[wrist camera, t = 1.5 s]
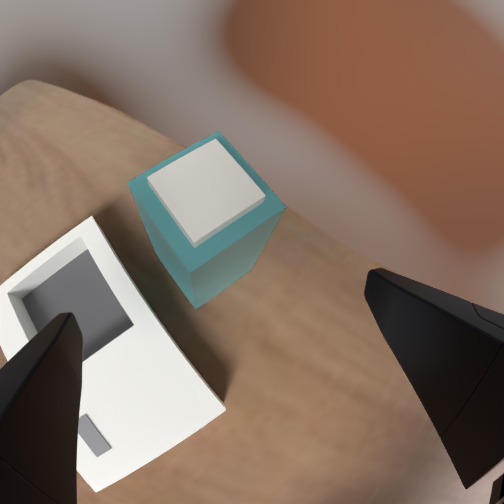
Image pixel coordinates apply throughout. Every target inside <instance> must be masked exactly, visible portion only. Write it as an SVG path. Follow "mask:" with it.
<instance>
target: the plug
mask: <svg viewBox="0 0 504 504" xmlns="http://www.w3.org/2000/svg"><path fill="white" fill-rule="evenodd" d="M127 183H128V186H129V188H130V191H131V194H132V196H133V199H134V201H135V204H136V206H137V209H138V212H139V214H140V217H141V219H142V222H143V224H144V227H145V229H146V231H147V234H148V236H149V239H150V241H151V243H152V246H153V248H154V251H155V253H156V255H157V257H158V258H159V259H160V261H161V262H162V264H163V265H164V267H165V268H166V270H167V271H168V272H169V274H170V275H171V277H172V278H173V279H174V281H175V282H176V284H177V285H178V287H179V288H180V289H181V291H182V292H183V293H184V295H185V296H186V298H187V299H188V300H189V302H190V303H191V304H192V306H193V307H194V308H195V310H197V309H198V308H199V307H201V306H202V305H204V304H205V303H206V302H208V301H209V300H211V299H212V298H213V297H215V296H216V295H217V294H219V293H220V292H222V291H223V290H224V289H226V288H227V287H228V286H230V285H231V284H233V283H234V282H235V281H237V280H238V279H239V278H241V277H242V276H244V275H245V274H246V273H248V272H249V271H250V270H251V269H252V268H253V266H254V264H255V262H256V260H257V259H258V257H259V255H260V253H261V251H262V250H263V248H264V246H265V244H266V242H267V241H268V239H269V237H270V235H271V233H272V231H273V230H274V228H275V226H276V224H277V222H278V221H279V219H280V217H281V215H282V213H283V212H284V210H285V208H286V206H285V205H284V204H283V203H282V202H281V201H280V199H279V198H278V197H277V196H276V195H275V194H274V193H273V191H272V190H271V189H270V188H269V187H268V185H267V184H266V183H265V182H264V181H263V180H262V179H261V177H260V176H259V175H258V174H257V173H256V172H255V171H254V170H253V168H252V167H251V166H250V165H249V164H248V163H247V162H246V161H245V159H243V157H242V156H241V155H240V154H239V153H238V152H237V150H236V149H235V148H234V147H233V146H232V145H231V144H230V143H229V142H228V140H227V139H226V138H225V137H224V136H223V135H222V134H221V133H220V132H219V131H218V132H216V133H214V134H212V135H210V136H208V137H206V138H204V139H202V140H201V141H199V142H197V143H195V144H193V145H191V146H189V147H187V148H186V149H184V150H182V151H180V152H178V153H176V154H175V155H173V156H171V157H169V158H168V159H166V160H164V161H162V162H161V163H159V164H157V165H155V166H154V167H152V168H150V169H149V170H147V171H145V172H144V173H142V174H140V175H139V176H137V177H135V178H134V179H132V180H130V181H129V182H127Z"/></svg>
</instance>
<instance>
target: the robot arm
mask: <svg viewBox="0 0 504 504" xmlns="http://www.w3.org/2000/svg"><path fill="white" fill-rule="evenodd" d="M364 295H365V299H366V301H367V303H368V305H369V307H370V309H371V312H372V314H373V316H374V318H375V320H376V322H377V324H378V326H379V328H380V331H381V333H382V334H383V336H384V338H385V340H386V342H387V343H388V345H389V347H390V348H391V350H392V352H393V353H394V355H395V357H396V358H397V360H398V362H399V364H400V365H401V367H402V369H403V371H404V372H405V374H406V376H407V378H408V379H409V381H410V383H411V385H412V386H413V388H414V390H415V392H416V394H417V395H418V397H419V399H420V401H421V403H422V404H423V406H424V408H425V410H426V412H427V414H428V416H429V417H430V419H431V421H432V423H433V425H434V427H435V429H436V431H437V433H438V435H439V436H440V437H441V441H442V443H443V445H444V447H445V449H446V450H447V452H448V454H449V457H450V459H451V461H452V463H453V465H454V467H455V469H456V471H457V473H458V475H459V477H460V479H461V481H462V484H463V485H464V487H465V489H468V488H469V487H471V486H472V485H473V484H475V483H476V482H477V481H479V480H480V479H481V478H483V477H484V476H485V475H486V474H488V473H489V472H490V471H491V470H493V469H494V468H495V467H496V466H498V465H499V464H500V463H501V462H502V461H503V460H504V314H501V313H498V312H495V311H492V310H490V309H487V308H485V307H482V306H479V305H477V304H474V303H471V302H469V301H467V300H464V299H461V298H459V297H456V296H454V295H451V294H449V293H446V292H444V291H441V290H438V289H436V288H433V287H430V286H428V285H425V284H423V283H420V282H417V281H415V280H412V279H409V278H407V277H404V276H401V275H399V274H396V273H393V272H391V271H388V270H385V269H382V268H377V269H372V270H370V271H369V272H368V275H367V280H366V286H365V291H364ZM82 363H83V335H82V332H81V330H80V328H79V325H78V323H77V320H76V318H75V315H74V314H73V313H72V312H64V313H59V314H58V315H57V316H56V317H55V318H54V319H52V320H51V321H50V322H49V323H48V324H47V325H46V326H45V327H44V328H43V329H42V330H40V331H39V332H38V333H37V334H36V335H35V336H34V337H33V338H32V339H31V340H30V341H29V342H28V343H27V344H26V345H24V346H23V347H22V348H21V349H20V350H19V351H18V352H17V353H16V354H15V355H14V356H13V357H12V358H11V359H10V360H9V361H8V362H7V363H6V364H5V365H4V366H3V367H2V368H1V369H0V504H77V441H78V425H79V412H80V401H81V392H82ZM489 504H504V473H503V474H502V475H501V476H500V477H499V478H498V479H496V480H495V481H494V482H493V487H492V492H491V497H490V502H489Z"/></svg>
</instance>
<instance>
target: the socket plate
mask: <svg viewBox="0 0 504 504" xmlns="http://www.w3.org/2000/svg"><path fill="white" fill-rule="evenodd" d="M64 312H72V313H73V314H74V315H75V318H76V320H77V323H78V325H79V328H80V330H81V332H82V335H83V363H82V392H81V401H80V412H79V425H78V441H77V471H78V472H79V473H80V475H81V476H82V477H83V478H84V479H85V481H86V482H87V483H88V484H89V485H90V486H91V488H92V489H93V490H94V491H95V492H98V491H100V490H102V489H103V488H105V487H107V486H109V485H111V484H112V483H114V482H116V481H118V480H120V479H121V478H123V477H125V476H127V475H128V474H130V473H132V472H133V471H135V470H137V469H138V468H140V467H142V466H143V465H145V464H147V463H148V462H150V461H152V460H153V459H155V458H156V457H158V456H160V455H161V454H163V453H164V452H166V451H167V450H169V449H170V448H172V447H173V446H175V445H177V444H178V443H180V442H181V441H183V440H184V439H186V438H187V437H189V436H190V435H191V434H193V433H194V432H196V431H197V430H199V429H200V428H202V427H203V426H204V425H206V424H207V423H209V422H210V421H212V420H213V419H214V418H216V417H217V416H219V415H220V414H221V413H223V412H224V411H225V410H226V408H225V405H224V403H223V402H222V401H221V399H220V398H219V397H218V396H217V395H216V393H215V392H214V391H213V390H212V389H211V387H210V386H209V385H208V384H207V382H206V381H205V380H204V379H203V377H202V376H201V375H200V374H199V372H198V371H197V370H196V368H195V367H194V366H193V365H192V363H191V362H190V361H189V359H188V358H187V357H186V355H185V354H184V353H183V351H182V350H181V349H180V347H179V346H178V345H177V343H176V342H175V341H174V339H173V338H172V337H171V335H170V334H169V332H168V331H167V330H166V328H165V327H164V325H163V324H162V323H161V321H160V320H159V318H158V317H157V315H156V314H155V313H154V311H153V310H152V308H151V307H150V305H149V304H148V302H147V301H146V299H145V298H144V296H143V295H142V293H141V292H140V290H139V289H138V287H137V286H136V284H135V283H134V281H133V280H132V278H131V277H130V275H129V274H128V272H127V270H126V269H125V267H124V266H123V264H122V262H121V261H120V259H119V258H118V256H117V254H116V253H115V251H114V249H113V248H112V246H111V244H110V243H109V241H108V239H107V238H106V236H105V234H104V233H103V231H102V229H101V228H100V227H99V225H98V224H97V222H96V221H95V220H94V218H93V217H92V216H91V217H89V218H88V219H86V220H85V221H83V222H82V223H81V224H79V225H78V226H76V227H75V228H74V229H72V230H71V231H69V232H68V233H67V234H65V235H64V236H63V237H61V238H60V239H58V240H57V241H56V242H54V243H53V244H52V245H50V246H49V247H48V248H46V249H45V250H44V251H43V252H41V253H40V254H39V255H37V256H36V257H35V258H34V259H32V260H31V261H30V262H29V263H27V264H26V265H25V266H24V267H22V268H21V269H20V270H19V271H17V272H16V273H15V274H14V275H13V276H11V277H10V278H9V279H8V280H7V281H5V282H4V283H3V284H2V285H1V286H0V346H1V348H2V350H3V352H4V354H5V356H6V358H7V361H9V360H10V359H11V358H12V357H13V356H14V355H15V354H16V353H17V352H18V351H19V350H20V349H21V348H22V347H23V346H24V345H26V344H27V343H28V342H29V341H30V340H31V339H32V338H33V337H34V336H35V335H36V334H37V333H38V332H39V331H40V330H42V329H43V328H44V327H45V326H46V325H47V324H48V323H49V322H50V321H51V320H52V319H54V318H55V317H56V316H57V315H58V314H59V313H64Z"/></svg>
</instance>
